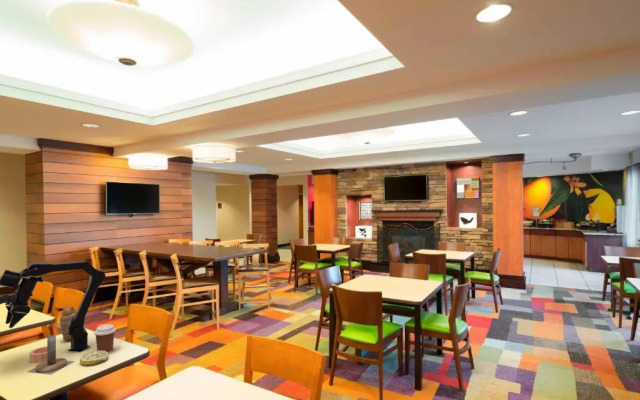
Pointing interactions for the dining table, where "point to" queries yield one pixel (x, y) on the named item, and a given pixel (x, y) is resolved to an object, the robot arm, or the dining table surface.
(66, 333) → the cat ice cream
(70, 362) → the mat
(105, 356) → the decorated donut
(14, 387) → the dining table surface
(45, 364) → the lid
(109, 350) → the coffee cup
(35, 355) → the bowl
